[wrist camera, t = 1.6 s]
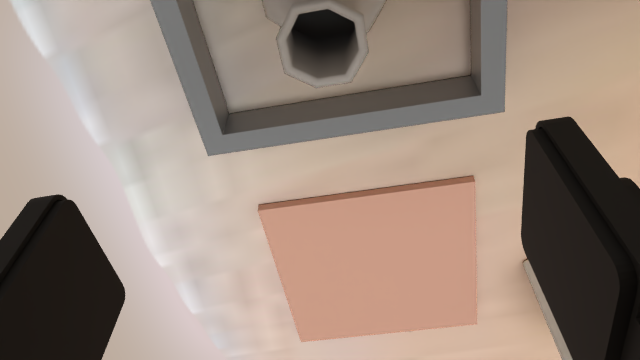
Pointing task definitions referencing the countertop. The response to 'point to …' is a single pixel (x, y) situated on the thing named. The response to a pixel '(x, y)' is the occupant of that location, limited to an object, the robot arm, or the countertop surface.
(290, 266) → the plate
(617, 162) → the countertop surface
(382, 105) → the case
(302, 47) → the flask
